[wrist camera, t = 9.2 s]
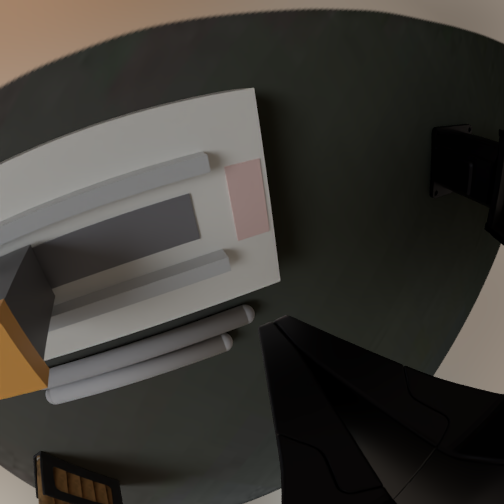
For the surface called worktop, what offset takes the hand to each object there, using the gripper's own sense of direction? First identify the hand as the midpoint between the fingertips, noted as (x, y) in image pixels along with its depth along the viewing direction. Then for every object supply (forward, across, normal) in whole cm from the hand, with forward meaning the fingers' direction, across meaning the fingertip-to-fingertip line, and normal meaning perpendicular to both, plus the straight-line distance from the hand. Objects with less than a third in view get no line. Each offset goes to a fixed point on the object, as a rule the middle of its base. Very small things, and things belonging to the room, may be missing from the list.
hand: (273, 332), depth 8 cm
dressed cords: (+12, +6, +9) cm, 16 cm away
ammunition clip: (+12, +20, +24) cm, 34 cm away
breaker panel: (+12, +6, 0) cm, 13 cm away
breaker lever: (+9, +10, 0) cm, 13 cm away
